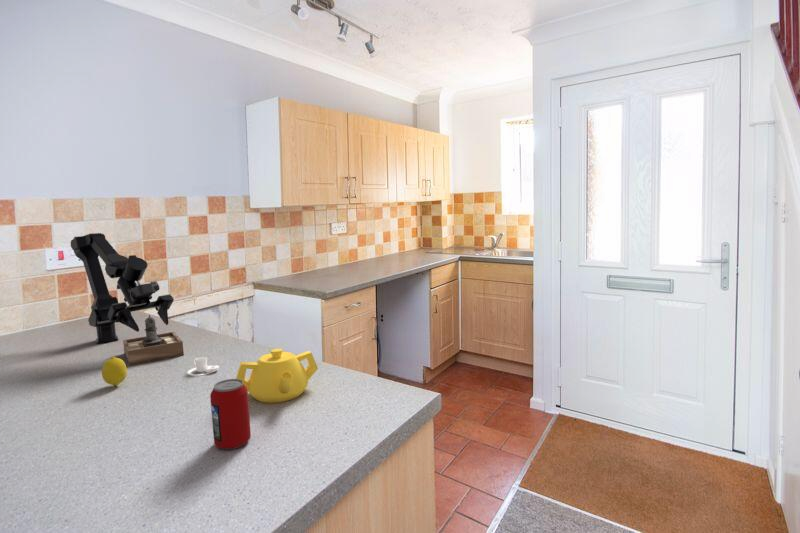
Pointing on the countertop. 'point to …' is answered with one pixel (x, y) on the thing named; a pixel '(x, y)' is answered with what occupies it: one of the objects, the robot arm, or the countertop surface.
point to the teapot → (277, 375)
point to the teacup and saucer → (202, 367)
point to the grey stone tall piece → (151, 333)
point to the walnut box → (153, 349)
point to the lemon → (114, 371)
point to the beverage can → (230, 414)
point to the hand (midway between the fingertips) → (153, 327)
